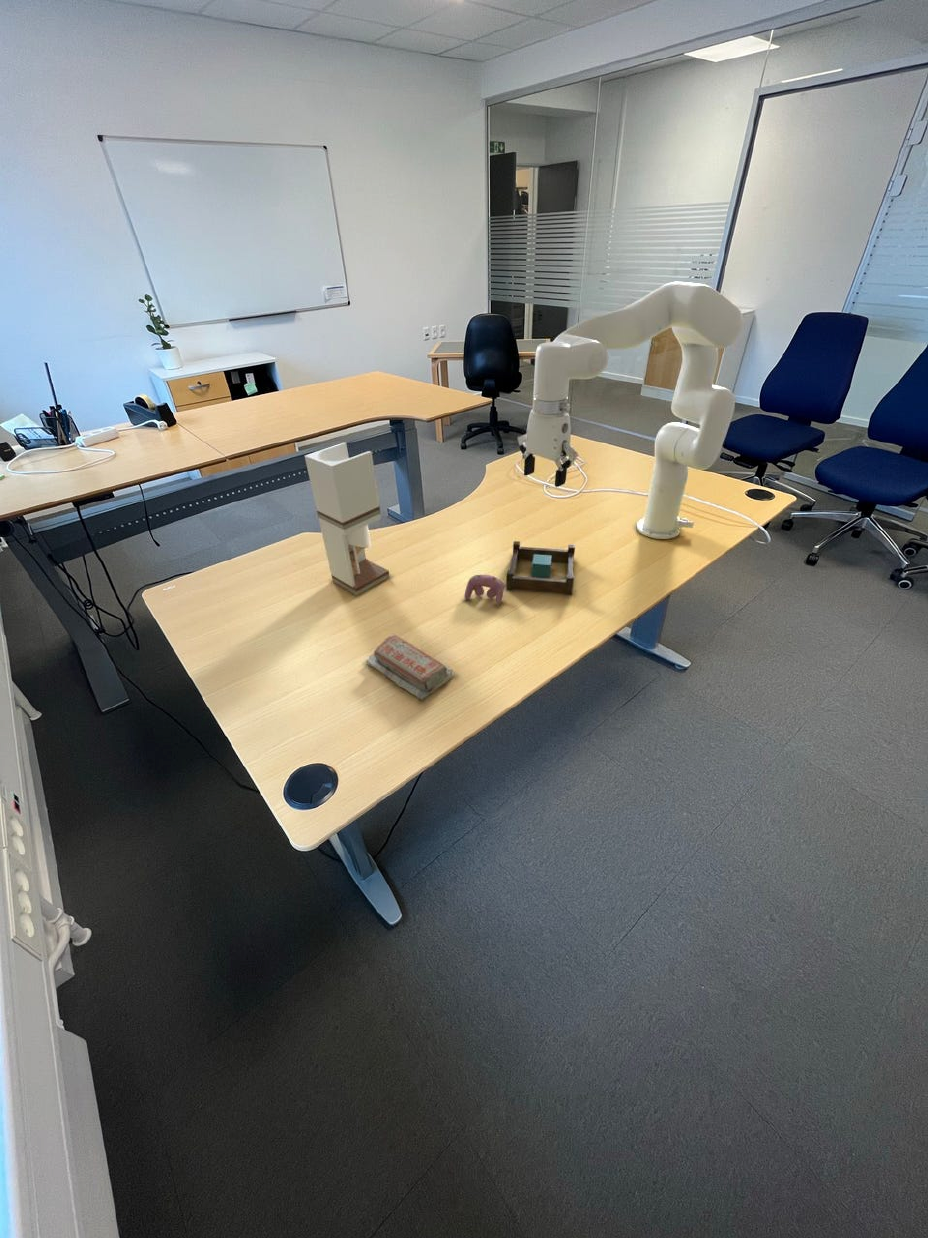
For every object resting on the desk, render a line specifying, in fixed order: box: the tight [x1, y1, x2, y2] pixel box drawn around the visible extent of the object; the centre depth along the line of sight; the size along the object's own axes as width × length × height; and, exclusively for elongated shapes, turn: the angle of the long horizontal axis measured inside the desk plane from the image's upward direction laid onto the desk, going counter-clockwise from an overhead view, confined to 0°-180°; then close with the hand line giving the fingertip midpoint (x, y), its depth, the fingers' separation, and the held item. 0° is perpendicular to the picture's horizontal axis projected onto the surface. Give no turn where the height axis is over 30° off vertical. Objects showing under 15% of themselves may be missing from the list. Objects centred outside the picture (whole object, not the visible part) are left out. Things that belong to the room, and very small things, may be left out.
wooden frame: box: [505, 540, 576, 596], centre depth 140 cm, size 17×17×5 cm
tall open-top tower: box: [304, 441, 390, 596], centre depth 132 cm, size 11×11×35 cm
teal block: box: [531, 554, 552, 579], centre depth 140 cm, size 5×5×5 cm
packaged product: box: [365, 634, 454, 701], centre depth 112 cm, size 18×5×10 cm
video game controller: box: [464, 574, 506, 607], centre depth 132 cm, size 10×5×7 cm, turn 71°
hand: (544, 479), depth 125 cm, fingers open, 9 cm apart
